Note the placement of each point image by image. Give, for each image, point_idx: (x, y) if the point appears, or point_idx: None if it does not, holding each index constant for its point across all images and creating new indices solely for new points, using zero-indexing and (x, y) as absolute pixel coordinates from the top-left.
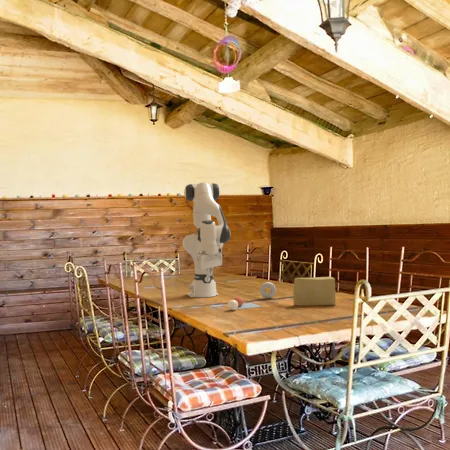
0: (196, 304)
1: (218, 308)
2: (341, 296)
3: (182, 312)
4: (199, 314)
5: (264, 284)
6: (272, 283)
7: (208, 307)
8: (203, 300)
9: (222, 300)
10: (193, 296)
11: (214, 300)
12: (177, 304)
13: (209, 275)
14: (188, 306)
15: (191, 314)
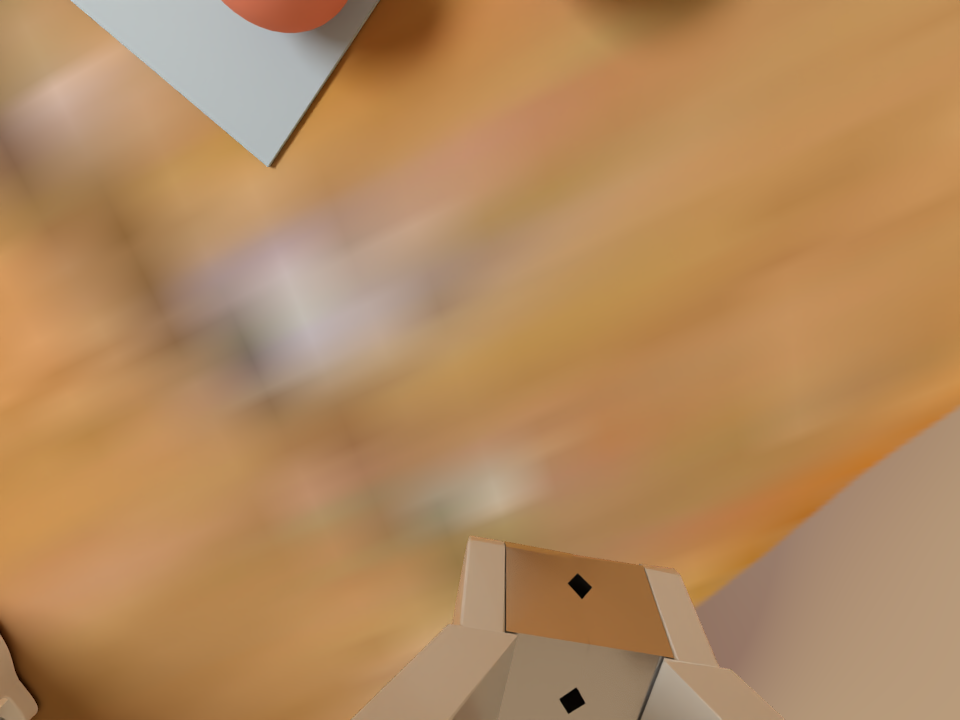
0: (338, 535)
1: (495, 201)
2: None
3: (817, 484)
4: (943, 253)
5: None
6: None
7: (464, 349)
8: (111, 559)
9: (6, 384)
10: (22, 696)
11: (54, 463)
12: None
13: (676, 579)
14: None
15: (942, 345)
